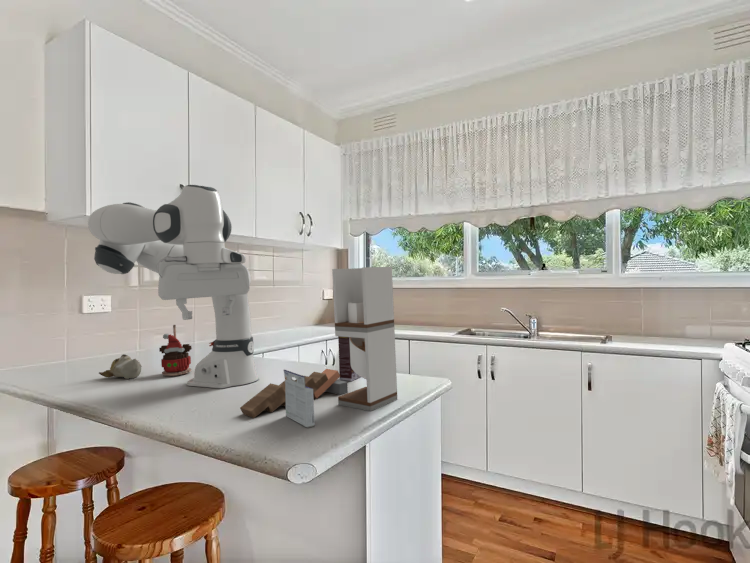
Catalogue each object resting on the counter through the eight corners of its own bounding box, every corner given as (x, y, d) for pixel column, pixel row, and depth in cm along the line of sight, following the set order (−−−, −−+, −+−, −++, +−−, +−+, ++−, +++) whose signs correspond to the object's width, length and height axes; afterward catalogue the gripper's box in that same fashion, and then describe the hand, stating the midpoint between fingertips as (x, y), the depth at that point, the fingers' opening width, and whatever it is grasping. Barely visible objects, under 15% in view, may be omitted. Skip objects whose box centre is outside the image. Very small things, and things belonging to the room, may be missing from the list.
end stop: (339, 394, 123) (339, 384, 123) (316, 389, 130) (316, 379, 130) (347, 392, 125) (347, 381, 125) (324, 387, 132) (324, 377, 132)
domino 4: (300, 396, 116) (325, 373, 122) (288, 394, 119) (314, 371, 126) (303, 402, 117) (328, 379, 123) (291, 399, 120) (316, 377, 127)
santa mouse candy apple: (195, 370, 165) (193, 322, 165) (188, 376, 156) (186, 325, 156) (165, 372, 164) (163, 324, 163) (156, 378, 154) (154, 327, 154)
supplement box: (352, 381, 137) (349, 331, 137) (339, 380, 140) (336, 330, 139) (365, 375, 145) (363, 327, 145) (353, 374, 147) (351, 327, 147)
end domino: (313, 393, 119) (337, 370, 126) (302, 390, 123) (326, 368, 129) (316, 398, 120) (340, 376, 126) (305, 395, 123) (328, 374, 130)
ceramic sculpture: (119, 356, 150) (95, 357, 157) (121, 382, 150) (97, 381, 157) (149, 351, 159) (124, 352, 167) (151, 375, 159) (126, 375, 166)
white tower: (366, 393, 123) (360, 268, 122) (397, 399, 116) (391, 266, 116) (338, 404, 114) (332, 269, 113) (370, 411, 107) (364, 267, 106)
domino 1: (250, 411, 105) (281, 386, 112) (239, 407, 108) (270, 383, 115) (254, 418, 106) (284, 392, 112) (243, 414, 109) (273, 389, 116)
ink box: (316, 426, 98) (313, 374, 98) (306, 428, 97) (304, 376, 97) (294, 414, 108) (291, 367, 107) (285, 416, 106) (282, 368, 106)
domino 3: (285, 401, 112) (312, 377, 119) (274, 398, 116) (301, 375, 122) (288, 407, 113) (315, 383, 120) (277, 404, 116) (303, 380, 123)
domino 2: (268, 406, 109) (297, 381, 115) (257, 402, 112) (286, 379, 119) (271, 412, 109) (300, 388, 116) (260, 409, 113) (288, 385, 119)
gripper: (163, 255, 90) (166, 323, 90) (251, 255, 105) (254, 313, 105) (151, 257, 94) (154, 321, 95) (237, 257, 109) (240, 312, 110)
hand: (207, 317), depth 100 cm, fingers open, 8 cm apart
